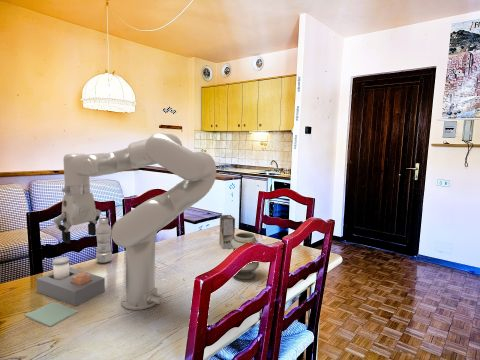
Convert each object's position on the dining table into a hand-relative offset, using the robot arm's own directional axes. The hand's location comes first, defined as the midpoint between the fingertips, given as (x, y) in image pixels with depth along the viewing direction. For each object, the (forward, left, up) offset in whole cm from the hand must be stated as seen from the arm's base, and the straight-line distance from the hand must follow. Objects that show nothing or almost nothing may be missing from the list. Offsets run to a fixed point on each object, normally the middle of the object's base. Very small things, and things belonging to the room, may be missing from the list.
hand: (79, 238), depth 107 cm
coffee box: (-20, -73, -21) cm, 78 cm away
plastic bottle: (+17, -25, -21) cm, 36 cm away
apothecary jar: (-44, -43, -21) cm, 65 cm away
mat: (-3, +13, -20) cm, 24 cm away
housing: (+5, 0, -20) cm, 21 cm away
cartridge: (+10, 0, -20) cm, 23 cm away
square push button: (-1, 0, -18) cm, 18 cm away
